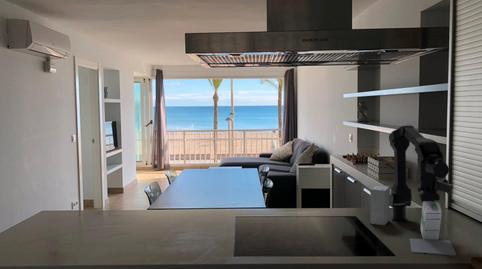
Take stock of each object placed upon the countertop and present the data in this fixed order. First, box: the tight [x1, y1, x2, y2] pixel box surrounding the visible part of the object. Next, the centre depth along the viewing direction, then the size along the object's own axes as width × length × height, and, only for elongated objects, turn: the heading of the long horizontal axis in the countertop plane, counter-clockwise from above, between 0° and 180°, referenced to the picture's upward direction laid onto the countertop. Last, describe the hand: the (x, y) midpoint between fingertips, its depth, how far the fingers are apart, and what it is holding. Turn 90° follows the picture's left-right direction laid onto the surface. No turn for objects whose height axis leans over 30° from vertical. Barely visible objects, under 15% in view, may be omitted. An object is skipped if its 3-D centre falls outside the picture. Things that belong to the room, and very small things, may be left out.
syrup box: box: [419, 201, 443, 240], centre depth 157 cm, size 6×6×14 cm
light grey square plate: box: [409, 238, 457, 257], centre depth 150 cm, size 15×14×1 cm
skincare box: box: [369, 185, 391, 226], centre depth 184 cm, size 8×7×16 cm
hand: (428, 214), depth 160 cm, fingers closed
